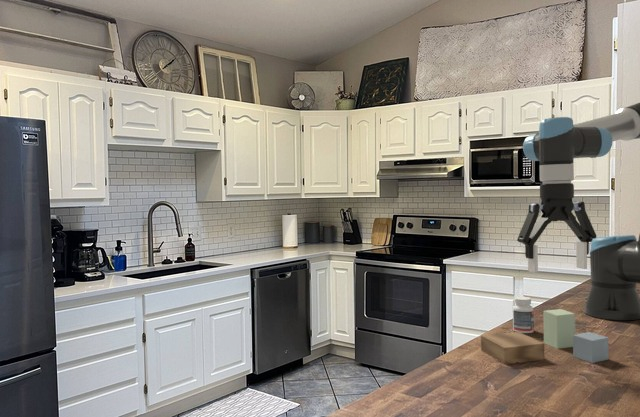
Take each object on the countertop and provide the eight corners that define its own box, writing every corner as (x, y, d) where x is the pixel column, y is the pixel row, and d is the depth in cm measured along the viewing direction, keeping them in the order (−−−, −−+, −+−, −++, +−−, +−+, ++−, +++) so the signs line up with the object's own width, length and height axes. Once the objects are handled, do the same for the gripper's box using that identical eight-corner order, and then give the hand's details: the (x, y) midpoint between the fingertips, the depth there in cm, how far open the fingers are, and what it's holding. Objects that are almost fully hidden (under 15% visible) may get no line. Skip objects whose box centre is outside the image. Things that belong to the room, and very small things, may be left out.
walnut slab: (518, 347, 129) (518, 331, 128) (544, 360, 119) (544, 343, 119) (481, 352, 127) (480, 335, 126) (504, 365, 117) (504, 347, 117)
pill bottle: (535, 334, 138) (535, 300, 138) (514, 333, 139) (514, 300, 139) (531, 328, 144) (531, 296, 143) (511, 328, 145) (511, 295, 144)
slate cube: (589, 353, 122) (588, 332, 122) (608, 359, 118) (608, 337, 117) (573, 356, 120) (573, 335, 120) (592, 363, 116) (592, 340, 115)
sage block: (561, 340, 132) (560, 309, 132) (575, 346, 127) (574, 313, 127) (543, 342, 131) (543, 310, 131) (557, 348, 126) (556, 315, 126)
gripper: (589, 181, 134) (590, 264, 135) (501, 184, 128) (503, 271, 129) (612, 180, 126) (613, 268, 127) (520, 184, 121) (521, 276, 122)
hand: (557, 270), depth 128 cm, fingers open, 13 cm apart
